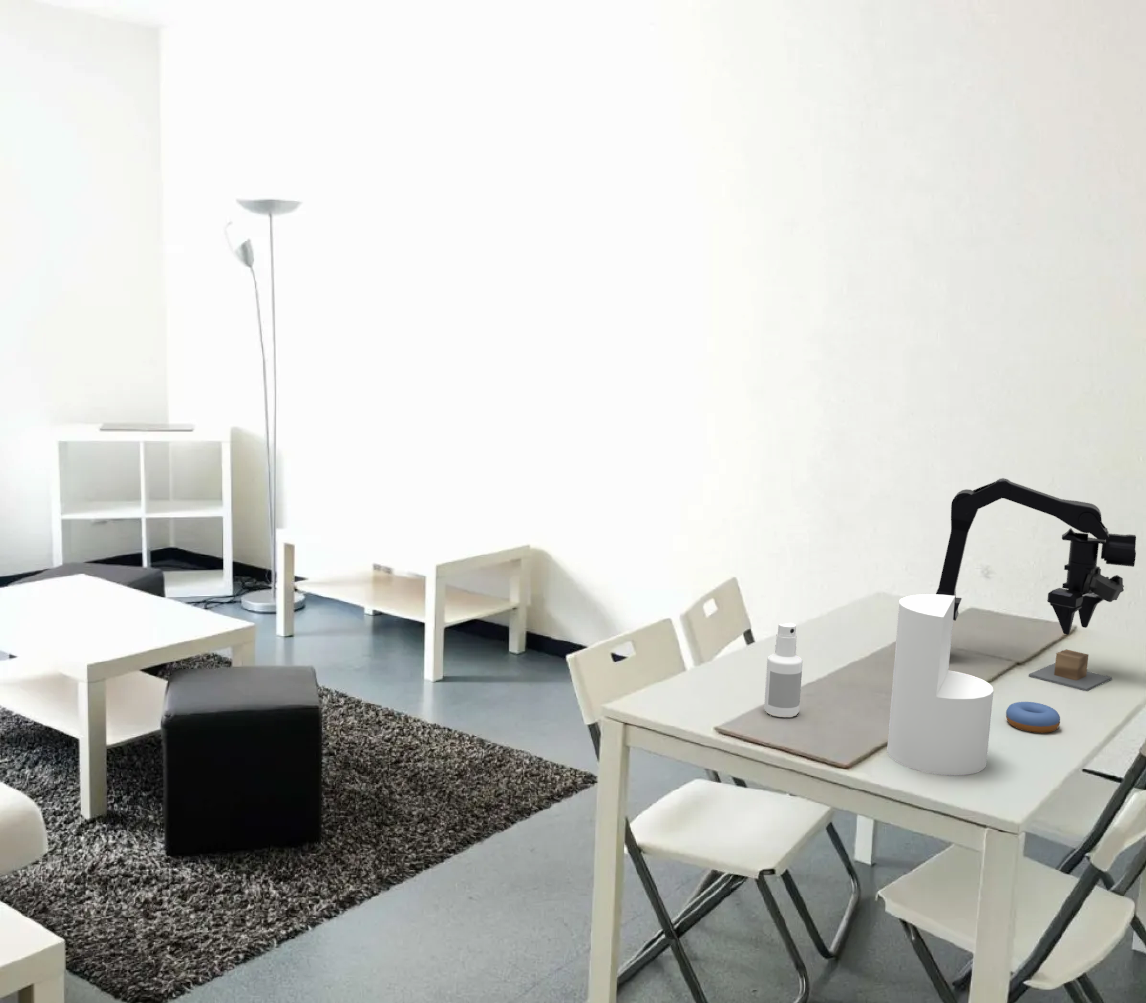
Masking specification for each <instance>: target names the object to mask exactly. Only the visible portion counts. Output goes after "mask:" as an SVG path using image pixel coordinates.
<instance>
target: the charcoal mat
mask: <svg viewBox="0 0 1146 1003" xmlns="http://www.w3.org/2000/svg"><path fill="white" fill-rule="evenodd" d="M1054 672H1055V662H1053V663H1052V664H1049V665H1047V666H1044V667H1042V668H1040V669H1038V670H1035V671H1032V672H1030V673H1028V677H1030V678H1034V679H1038V680H1041V681H1045V682H1050V683H1054V684H1057V685H1060V686H1065V687H1069V688H1073V689H1076V690H1080V691H1085V692H1088V691H1090V690H1092V689H1094V688H1096V686H1097V687H1099V686H1101V685H1103V684H1105V683H1107V682H1109V681H1111V680H1112V678H1113V677H1112V676H1109V675H1105V674H1100V673H1097V672H1093V671H1089V670H1087V673H1086V677H1083V678H1081V679H1079V680H1077V681H1076V680H1072V679H1068V678H1064V677H1060V676H1056V675H1054ZM1108 680H1109V681H1108ZM1102 683H1103V684H1102ZM1100 684H1101V685H1100ZM1098 685H1099V686H1098Z"/></svg>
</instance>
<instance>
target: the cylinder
mask: <svg viewBox="0 0 1146 1003" xmlns="http://www.w3.org/2000/svg"><path fill="white" fill-rule="evenodd" d="M898 601H899V602H898V610H897V611H898V613H897V624H896V638H895V649H894V650H895V651H894V663H893V674H892V675H893V676H892V685H891V686H892V688H891V700H890V711H889V726H888V736H887V749H886V754H887V755H888V756H889V758H890V759H892V760H893V761H895V763H898V764H900V765H902V766H903V767H906V768H909V769H912V770H915V771H919V772H923V773H929V774H933V775H939V776H941V775H942V776H967V775H972V774H977V773H979V772H981V771H983V770H985V768H986V766H987V762H988V751H989V741H990V731H991V719H992V718H991V717H992V708H993V698H994V687H993V685H991V684H990V683H989V682H988V681H986V680H984V679H982V678H980V677H977V676H974V675H971V674H968V673H964V672H961V671H954V670H950V669H949V668H950V658H951V649H952V648H951V645H952V634H953V625H954V624H953V623H954V620H953V615H954V603H955V596H951V595H939V594H936V593H933V594H932V593H929V594H928V593H925V594H924V593H923V594H922V593H921V594H911V595H907V596H904V597H902V598H900V599H899V600H898Z"/></svg>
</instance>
